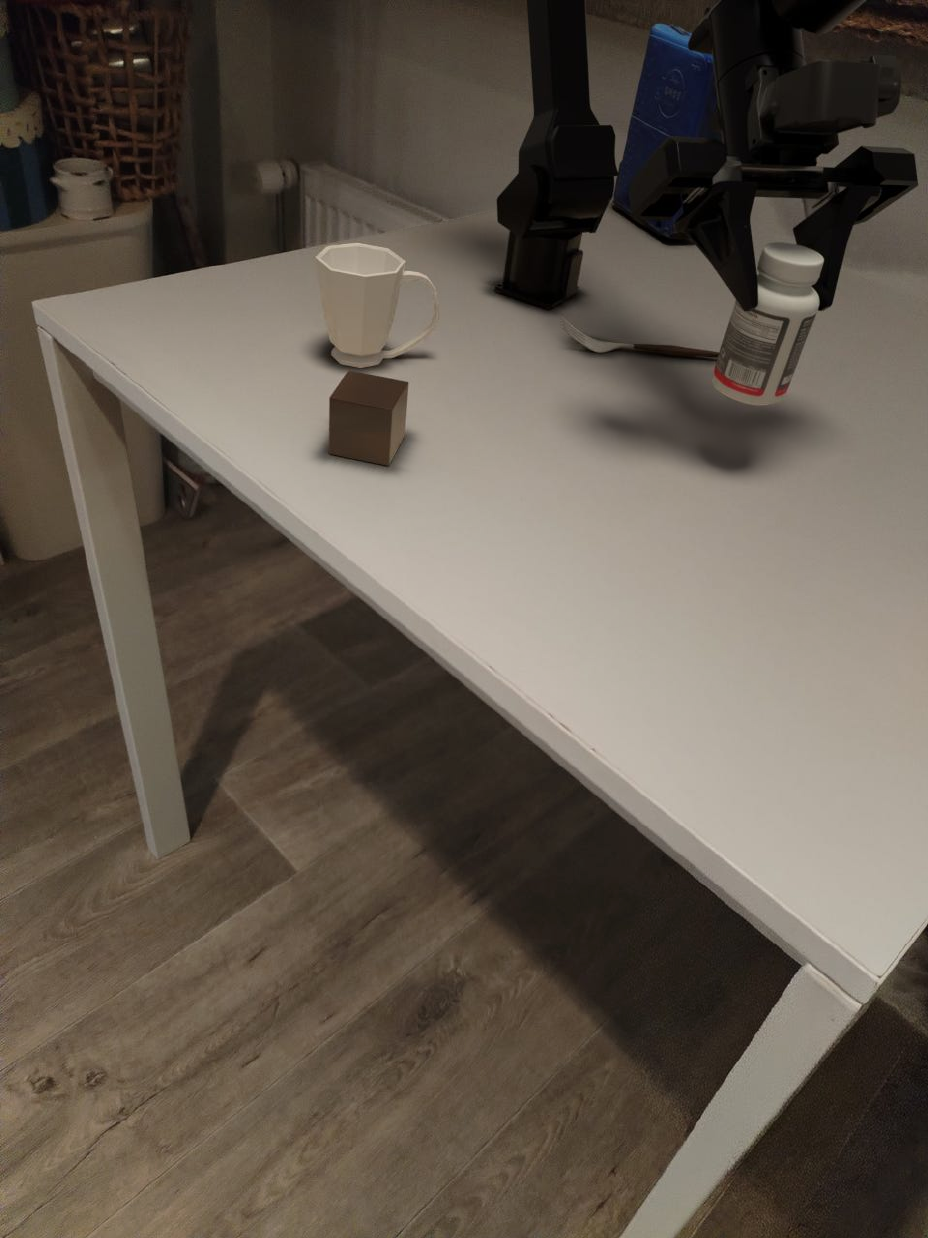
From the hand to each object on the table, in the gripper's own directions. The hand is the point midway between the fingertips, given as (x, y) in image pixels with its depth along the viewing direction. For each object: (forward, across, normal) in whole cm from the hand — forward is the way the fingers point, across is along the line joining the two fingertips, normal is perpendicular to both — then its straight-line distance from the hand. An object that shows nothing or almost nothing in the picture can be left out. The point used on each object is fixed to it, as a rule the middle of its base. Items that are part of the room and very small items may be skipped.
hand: (788, 308), depth 60 cm
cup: (-5, -23, +23) cm, 33 cm away
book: (-28, +18, +47) cm, 58 cm away
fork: (-5, +1, +23) cm, 23 cm away
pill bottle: (+4, 0, +6) cm, 7 cm away
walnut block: (+5, -27, +13) cm, 30 cm away
